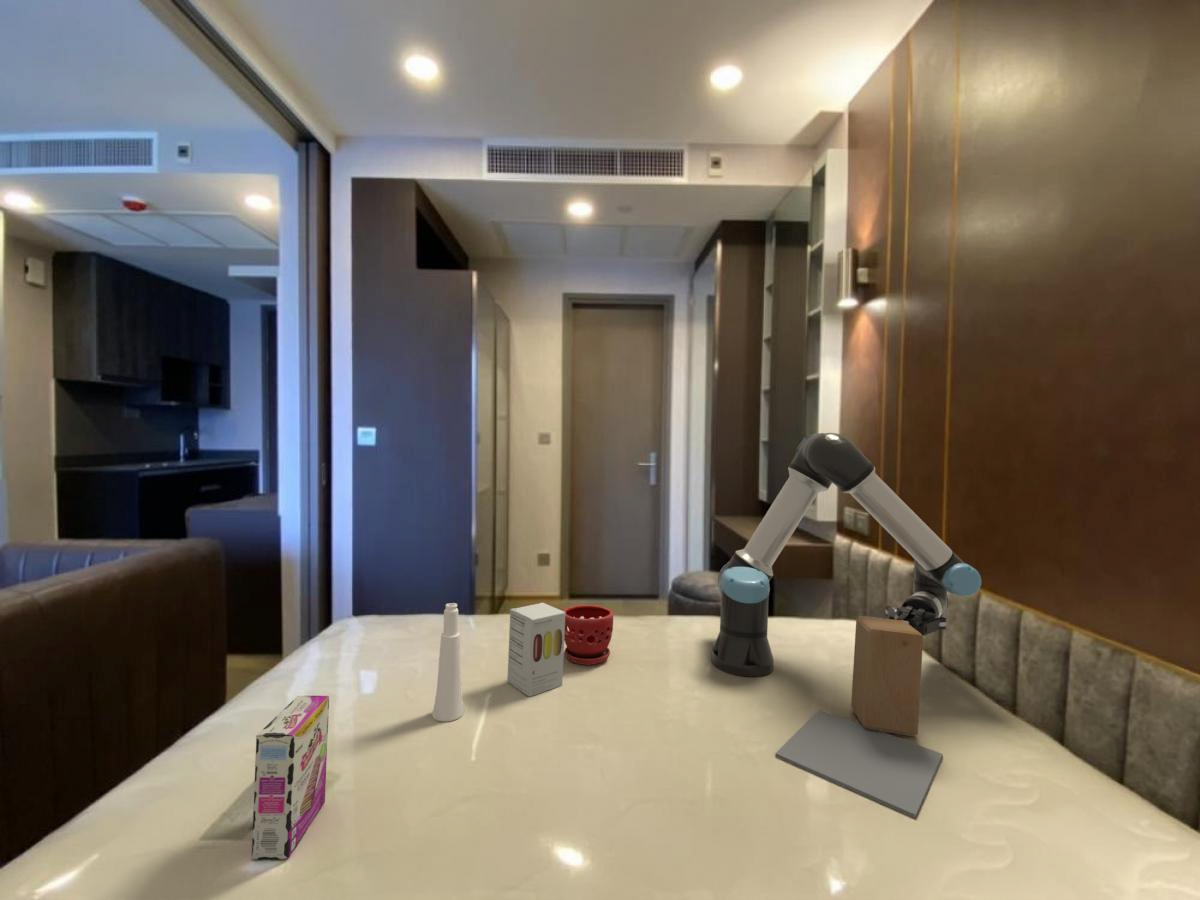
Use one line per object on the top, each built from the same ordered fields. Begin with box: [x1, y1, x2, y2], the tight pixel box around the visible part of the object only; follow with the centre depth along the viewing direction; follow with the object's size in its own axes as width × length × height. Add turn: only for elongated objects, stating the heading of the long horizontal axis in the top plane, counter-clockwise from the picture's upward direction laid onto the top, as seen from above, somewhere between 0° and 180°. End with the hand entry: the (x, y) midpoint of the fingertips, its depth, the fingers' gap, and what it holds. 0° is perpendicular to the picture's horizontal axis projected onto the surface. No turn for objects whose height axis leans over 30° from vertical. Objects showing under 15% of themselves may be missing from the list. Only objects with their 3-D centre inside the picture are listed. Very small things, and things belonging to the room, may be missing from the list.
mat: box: [774, 709, 944, 819], centre depth 95 cm, size 22×22×1 cm
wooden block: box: [850, 615, 924, 737], centre depth 107 cm, size 10×10×20 cm
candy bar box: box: [250, 695, 330, 861], centre depth 73 cm, size 11×5×16 cm, turn 5°
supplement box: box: [506, 602, 565, 698], centre depth 119 cm, size 10×9×17 cm
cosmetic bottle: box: [432, 602, 465, 723], centre depth 105 cm, size 6×6×22 cm
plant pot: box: [562, 604, 614, 666], centre depth 135 cm, size 13×13×12 cm
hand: (897, 634), depth 113 cm, fingers closed
